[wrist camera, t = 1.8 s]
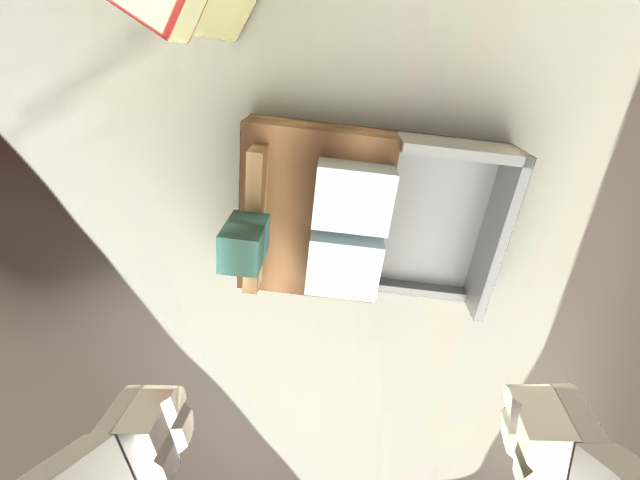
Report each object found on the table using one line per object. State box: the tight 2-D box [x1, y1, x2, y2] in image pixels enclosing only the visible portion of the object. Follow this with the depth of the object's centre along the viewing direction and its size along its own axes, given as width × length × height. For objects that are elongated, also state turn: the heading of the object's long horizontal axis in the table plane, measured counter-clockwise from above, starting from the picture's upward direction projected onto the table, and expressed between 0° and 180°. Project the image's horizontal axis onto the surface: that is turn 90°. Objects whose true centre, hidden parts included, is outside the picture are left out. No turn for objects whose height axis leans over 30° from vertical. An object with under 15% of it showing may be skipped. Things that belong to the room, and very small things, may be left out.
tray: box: [377, 131, 537, 322], centre depth 37 cm, size 10×15×5 cm, turn 174°
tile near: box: [311, 157, 400, 238], centre depth 33 cm, size 6×5×3 cm
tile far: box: [304, 230, 385, 303], centre depth 35 cm, size 6×5×3 cm
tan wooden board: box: [237, 114, 402, 303], centre depth 37 cm, size 12×15×4 cm
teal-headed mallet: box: [216, 143, 270, 294], centre depth 32 cm, size 3×12×8 cm, turn 174°
